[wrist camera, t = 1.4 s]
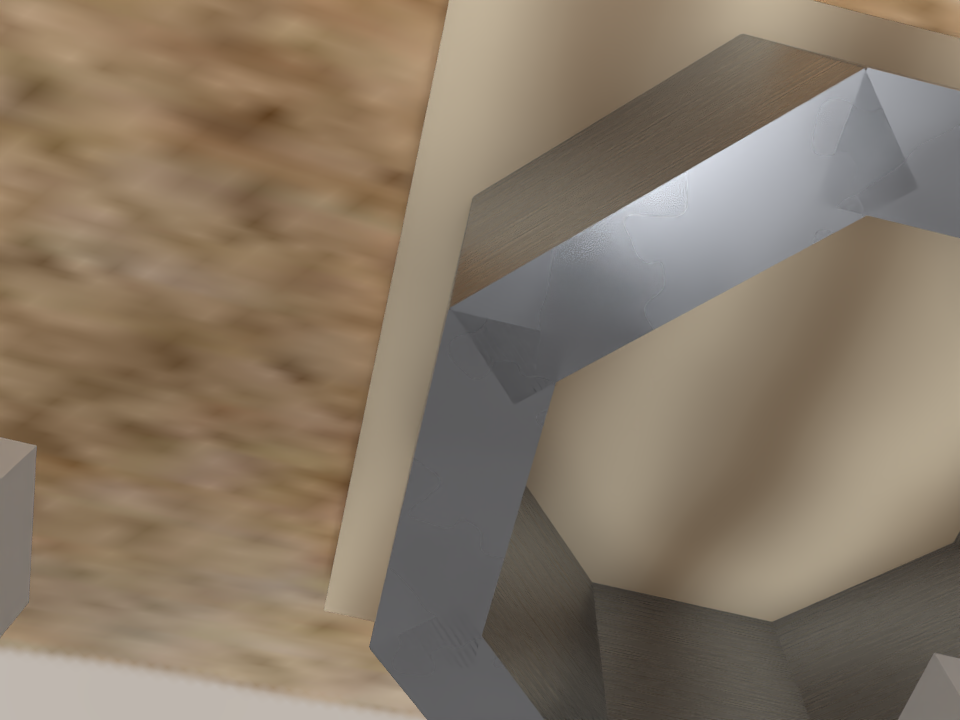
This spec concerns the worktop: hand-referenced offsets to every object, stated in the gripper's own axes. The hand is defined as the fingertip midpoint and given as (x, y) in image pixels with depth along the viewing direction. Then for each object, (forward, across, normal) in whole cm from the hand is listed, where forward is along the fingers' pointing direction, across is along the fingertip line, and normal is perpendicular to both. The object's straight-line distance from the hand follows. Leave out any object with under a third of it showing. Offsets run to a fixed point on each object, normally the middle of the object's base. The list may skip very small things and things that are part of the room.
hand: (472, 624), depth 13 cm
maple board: (+13, +7, 0) cm, 14 cm away
